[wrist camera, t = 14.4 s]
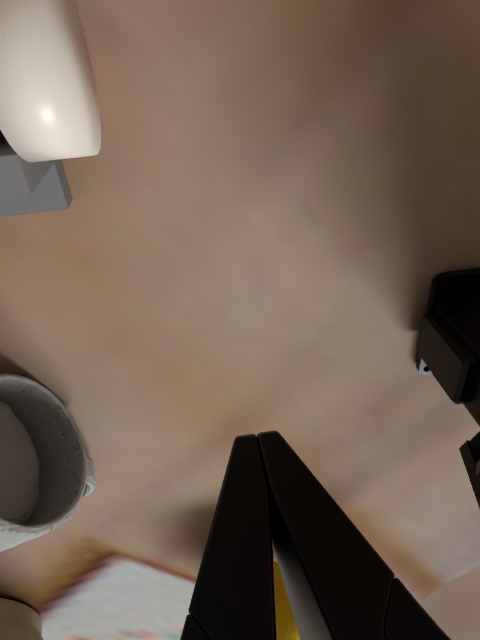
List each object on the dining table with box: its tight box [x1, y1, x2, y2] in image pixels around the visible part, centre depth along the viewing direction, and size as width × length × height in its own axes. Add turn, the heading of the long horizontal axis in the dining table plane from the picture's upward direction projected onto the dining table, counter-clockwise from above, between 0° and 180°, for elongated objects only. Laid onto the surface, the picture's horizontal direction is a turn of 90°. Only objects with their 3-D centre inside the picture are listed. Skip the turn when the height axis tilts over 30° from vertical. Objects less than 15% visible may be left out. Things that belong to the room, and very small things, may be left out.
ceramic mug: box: [0, 374, 96, 552], centre depth 23 cm, size 11×8×8 cm
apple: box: [273, 561, 300, 640], centre depth 34 cm, size 6×6×8 cm
